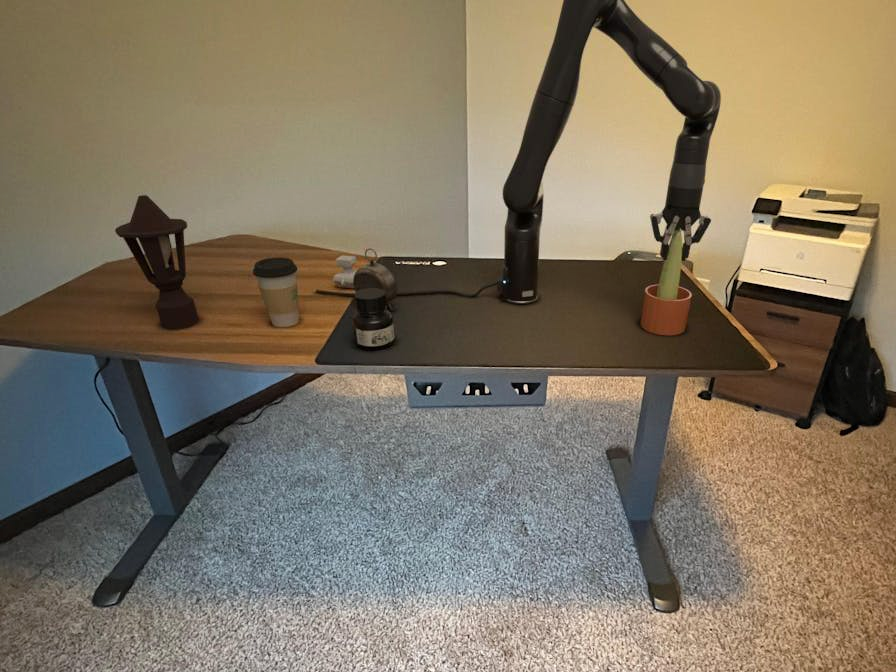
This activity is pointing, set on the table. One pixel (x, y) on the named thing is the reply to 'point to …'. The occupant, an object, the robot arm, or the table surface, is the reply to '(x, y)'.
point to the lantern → (161, 260)
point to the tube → (671, 269)
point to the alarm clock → (375, 279)
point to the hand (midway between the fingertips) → (673, 259)
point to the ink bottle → (372, 320)
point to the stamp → (345, 271)
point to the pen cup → (665, 312)
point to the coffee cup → (278, 289)
